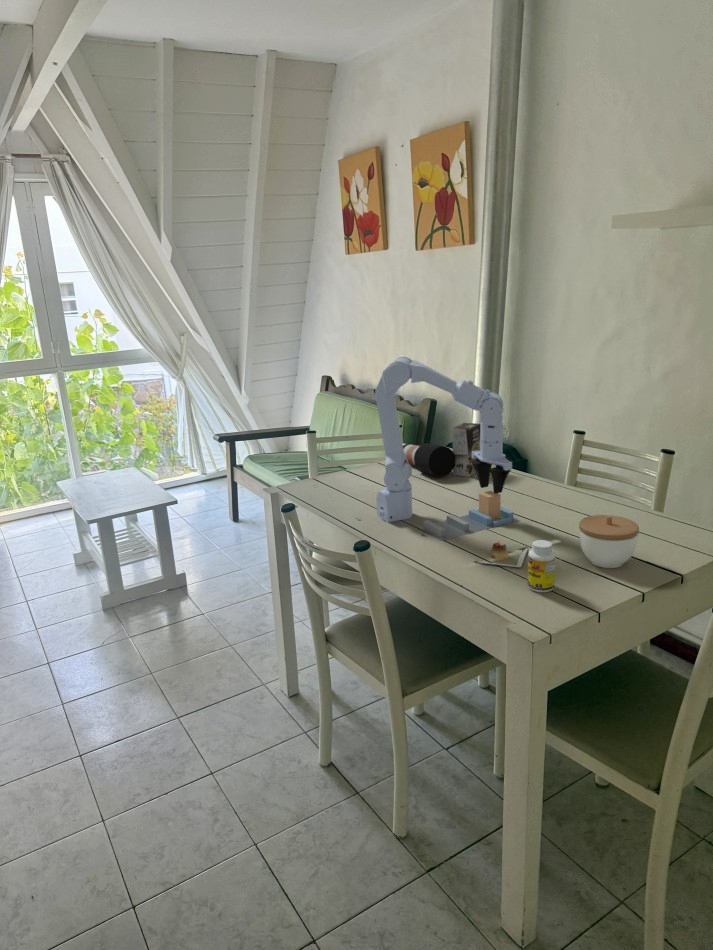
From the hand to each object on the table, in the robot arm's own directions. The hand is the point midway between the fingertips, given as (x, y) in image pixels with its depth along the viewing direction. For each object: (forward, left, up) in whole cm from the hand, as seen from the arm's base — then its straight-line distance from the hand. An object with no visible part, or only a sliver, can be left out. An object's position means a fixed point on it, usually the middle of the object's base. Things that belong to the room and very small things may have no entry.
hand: (491, 489), depth 178 cm
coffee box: (+21, +40, -9) cm, 46 cm away
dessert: (-12, -19, -10) cm, 25 cm away
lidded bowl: (+6, -35, -9) cm, 37 cm away
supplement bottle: (-15, -37, -9) cm, 41 cm away
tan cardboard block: (0, 0, -8) cm, 8 cm away
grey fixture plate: (-7, 0, -9) cm, 11 cm away
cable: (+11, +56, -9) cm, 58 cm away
